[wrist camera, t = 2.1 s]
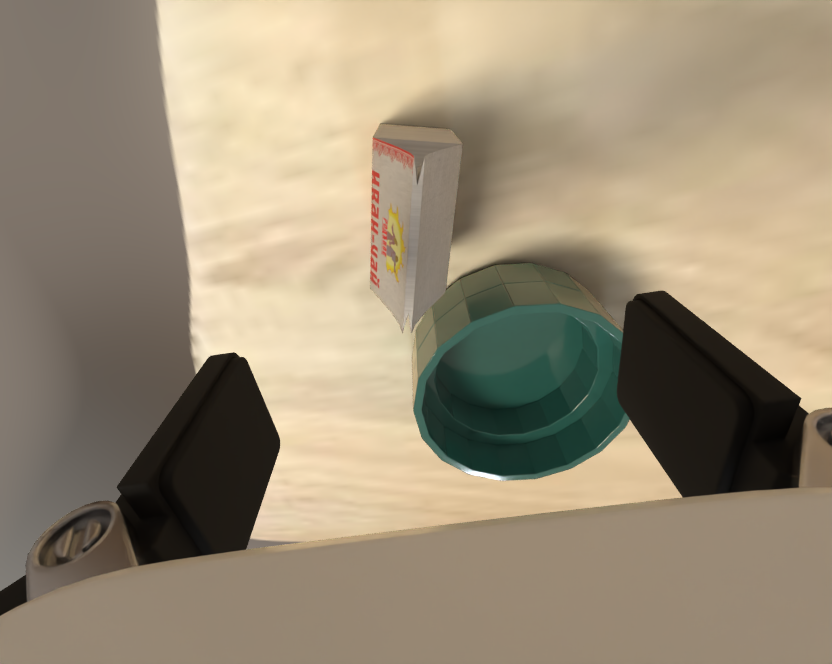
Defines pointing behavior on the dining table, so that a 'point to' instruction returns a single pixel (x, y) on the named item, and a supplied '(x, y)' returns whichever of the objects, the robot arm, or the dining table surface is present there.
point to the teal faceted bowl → (517, 374)
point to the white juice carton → (412, 216)
